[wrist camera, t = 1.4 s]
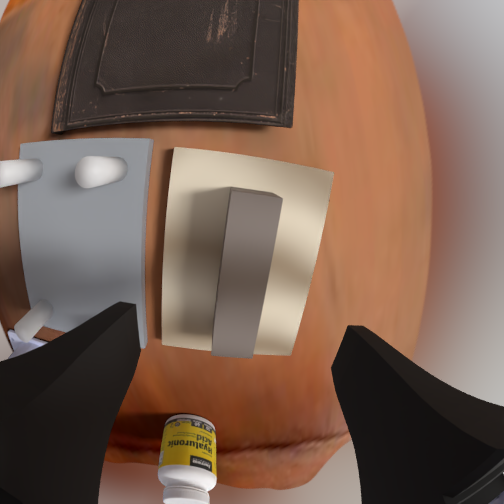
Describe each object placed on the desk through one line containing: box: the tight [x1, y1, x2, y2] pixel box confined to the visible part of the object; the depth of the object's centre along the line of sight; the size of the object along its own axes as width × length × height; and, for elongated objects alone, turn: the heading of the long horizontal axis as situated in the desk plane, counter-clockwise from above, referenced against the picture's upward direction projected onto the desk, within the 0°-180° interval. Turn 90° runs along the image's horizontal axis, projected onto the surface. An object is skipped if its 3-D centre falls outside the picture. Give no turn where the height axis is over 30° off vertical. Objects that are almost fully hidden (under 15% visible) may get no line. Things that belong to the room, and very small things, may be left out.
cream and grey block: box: [162, 147, 334, 358], centre depth 17 cm, size 14×10×4 cm
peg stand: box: [0, 138, 154, 348], centre depth 15 cm, size 15×11×5 cm
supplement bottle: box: [158, 414, 216, 504], centre depth 19 cm, size 5×5×10 cm
